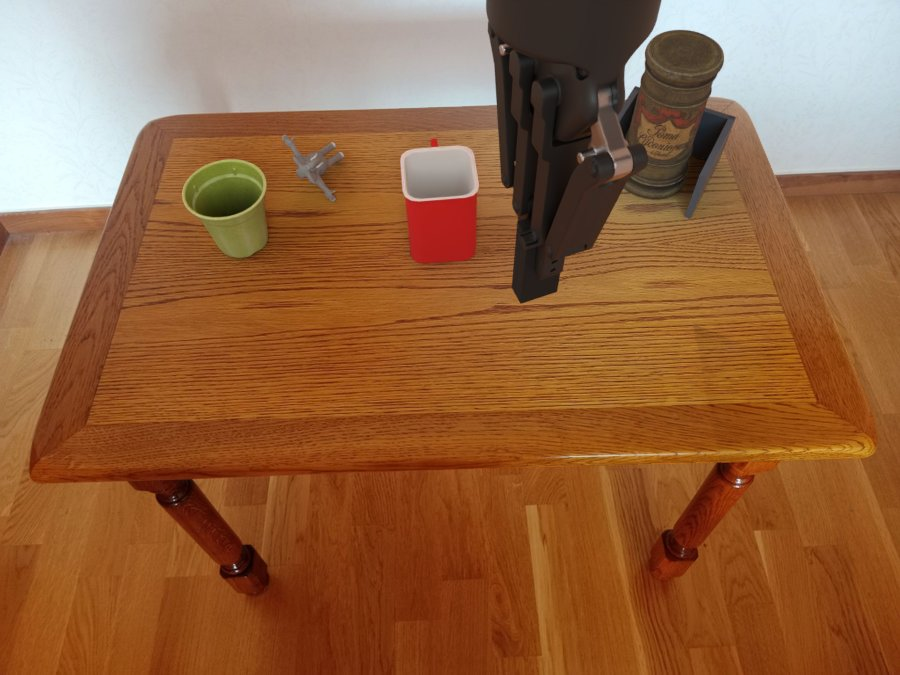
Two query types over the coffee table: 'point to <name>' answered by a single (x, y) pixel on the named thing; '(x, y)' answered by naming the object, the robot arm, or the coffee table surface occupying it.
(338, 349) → the coffee table surface
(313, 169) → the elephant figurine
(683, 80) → the container
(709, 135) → the grey u-shaped piece
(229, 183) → the plant pot
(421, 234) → the mug
